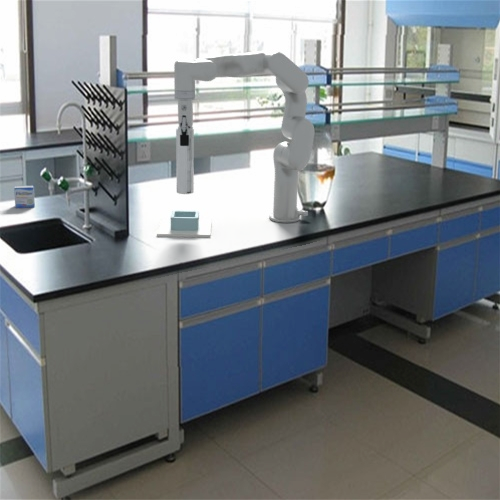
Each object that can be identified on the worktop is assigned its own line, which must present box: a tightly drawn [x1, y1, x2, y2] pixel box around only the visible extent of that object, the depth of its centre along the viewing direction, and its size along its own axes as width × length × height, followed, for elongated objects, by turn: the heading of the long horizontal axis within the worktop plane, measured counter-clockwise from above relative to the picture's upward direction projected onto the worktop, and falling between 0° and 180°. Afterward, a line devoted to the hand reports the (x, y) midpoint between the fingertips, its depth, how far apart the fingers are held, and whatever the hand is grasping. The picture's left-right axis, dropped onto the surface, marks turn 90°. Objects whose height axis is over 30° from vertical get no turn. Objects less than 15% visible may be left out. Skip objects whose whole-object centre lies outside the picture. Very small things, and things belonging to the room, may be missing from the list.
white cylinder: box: [175, 125, 195, 195], centre depth 271 cm, size 6×6×25 cm
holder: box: [156, 210, 212, 238], centre depth 279 cm, size 20×20×6 cm
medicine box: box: [13, 185, 36, 209], centre depth 304 cm, size 8×4×9 cm, turn 105°
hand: (184, 143), depth 269 cm, fingers closed on white cylinder, 6 cm apart
